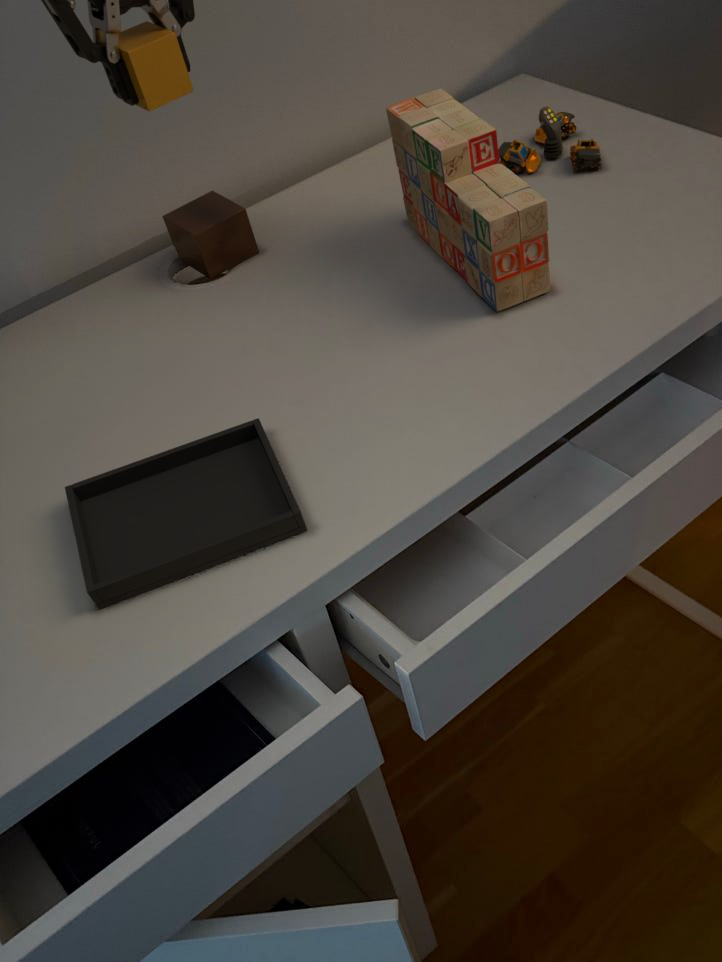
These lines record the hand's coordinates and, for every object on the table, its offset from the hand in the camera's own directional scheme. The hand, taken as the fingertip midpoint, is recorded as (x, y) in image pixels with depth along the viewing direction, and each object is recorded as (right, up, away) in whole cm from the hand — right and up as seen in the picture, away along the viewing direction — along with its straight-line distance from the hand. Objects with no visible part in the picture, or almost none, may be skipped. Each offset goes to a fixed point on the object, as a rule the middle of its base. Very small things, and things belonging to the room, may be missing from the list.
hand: (156, 90), depth 88 cm
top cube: (0, 0, 0) cm, 0 cm away
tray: (+6, -42, -10) cm, 43 cm away
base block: (+2, -10, +14) cm, 18 cm away
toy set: (+40, +3, +19) cm, 44 cm away
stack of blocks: (+30, -12, +9) cm, 34 cm away
